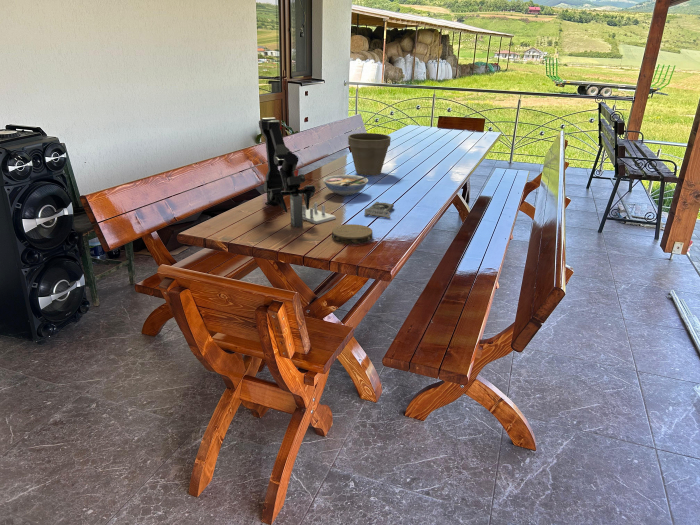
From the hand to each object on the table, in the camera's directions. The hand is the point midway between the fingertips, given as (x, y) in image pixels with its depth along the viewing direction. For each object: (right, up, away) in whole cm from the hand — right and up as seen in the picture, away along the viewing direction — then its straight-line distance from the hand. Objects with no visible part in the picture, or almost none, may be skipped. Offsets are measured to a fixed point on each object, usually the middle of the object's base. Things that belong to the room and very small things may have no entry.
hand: (297, 210), depth 214 cm
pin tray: (+6, -1, +14) cm, 15 cm away
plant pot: (+33, +32, +97) cm, 107 cm away
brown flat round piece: (+22, -12, -9) cm, 27 cm away
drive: (-1, -6, +4) cm, 7 cm away
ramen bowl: (+19, +13, +52) cm, 57 cm away
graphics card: (+36, +1, +23) cm, 43 cm away
